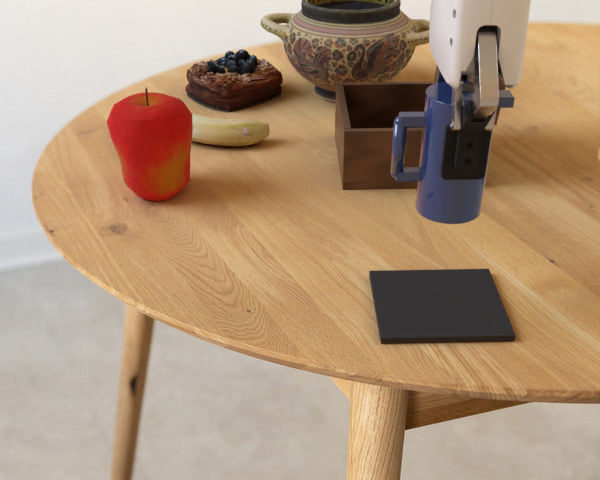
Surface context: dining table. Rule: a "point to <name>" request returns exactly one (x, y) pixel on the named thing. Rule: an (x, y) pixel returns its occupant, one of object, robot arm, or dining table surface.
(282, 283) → the dining table surface
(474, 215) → the jug
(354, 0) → the ceramic bowl
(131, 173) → the apple
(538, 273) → the dining table surface
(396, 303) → the trivet
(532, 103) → the dining table surface
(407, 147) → the chest
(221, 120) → the fruit
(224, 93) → the pastry
